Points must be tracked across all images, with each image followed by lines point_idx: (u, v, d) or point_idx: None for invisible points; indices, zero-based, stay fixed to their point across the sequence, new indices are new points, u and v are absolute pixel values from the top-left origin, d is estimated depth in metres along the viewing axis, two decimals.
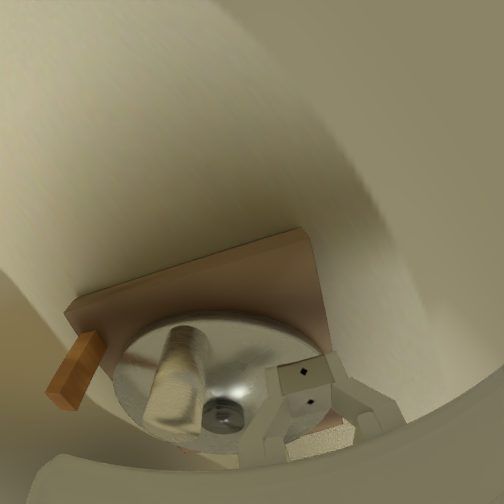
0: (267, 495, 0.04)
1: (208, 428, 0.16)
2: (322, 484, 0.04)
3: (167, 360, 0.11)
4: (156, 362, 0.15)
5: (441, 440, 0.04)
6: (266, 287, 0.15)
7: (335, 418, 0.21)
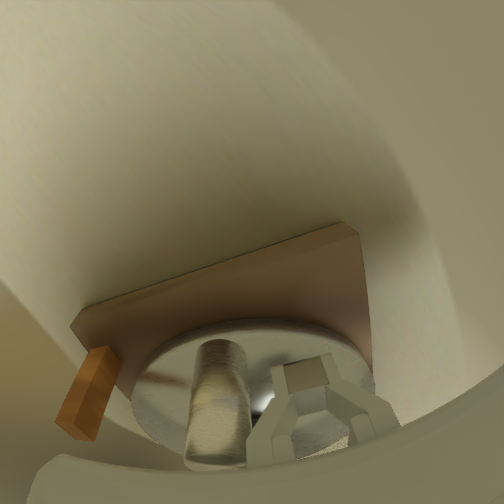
0: (267, 495, 0.04)
1: None
2: (322, 484, 0.04)
3: (205, 384, 0.09)
4: (183, 381, 0.13)
5: (441, 440, 0.04)
6: (310, 289, 0.13)
7: None
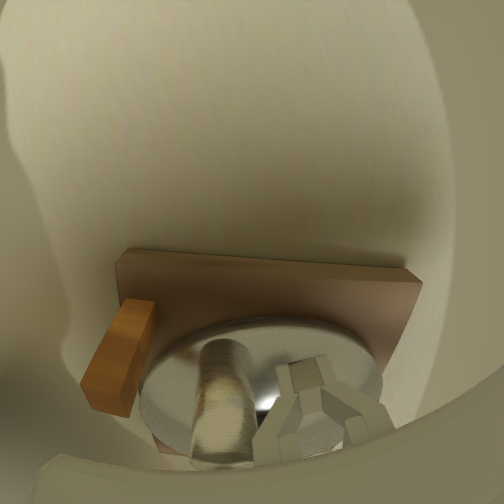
0: (267, 495, 0.04)
1: None
2: (322, 484, 0.04)
3: (208, 383, 0.09)
4: (189, 382, 0.13)
5: (441, 440, 0.04)
6: (375, 313, 0.14)
7: None
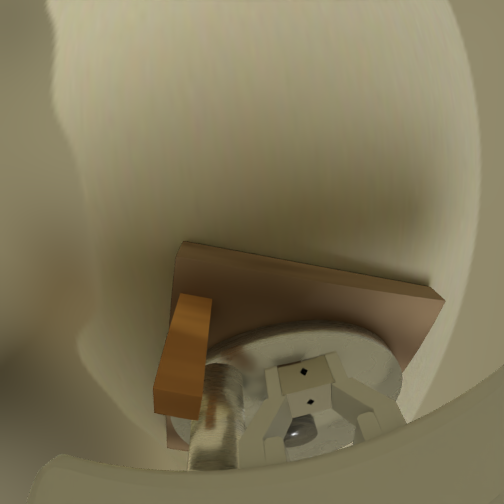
0: (267, 495, 0.04)
1: None
2: (322, 484, 0.04)
3: None
4: None
5: (441, 440, 0.04)
6: (404, 324, 0.15)
7: None
